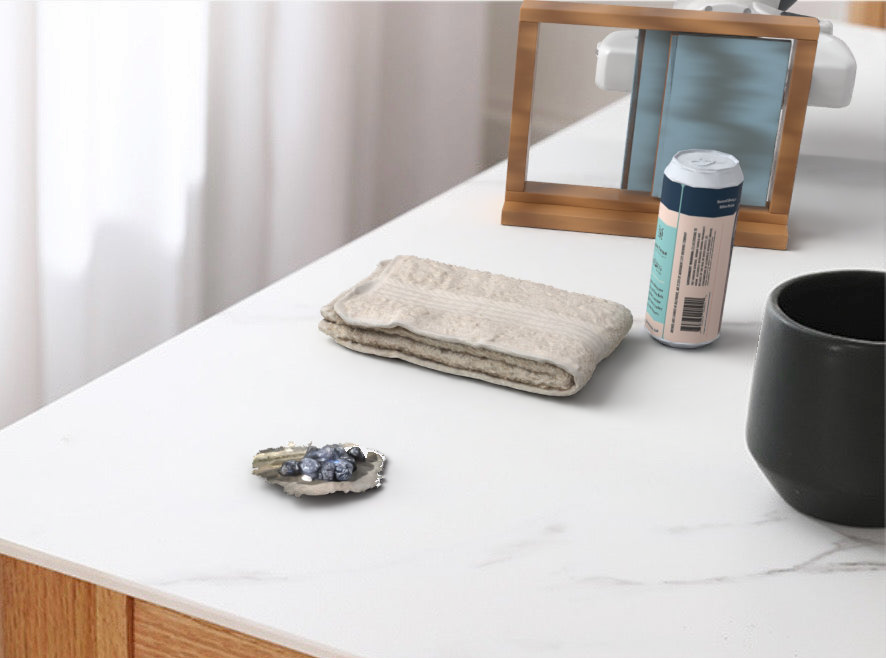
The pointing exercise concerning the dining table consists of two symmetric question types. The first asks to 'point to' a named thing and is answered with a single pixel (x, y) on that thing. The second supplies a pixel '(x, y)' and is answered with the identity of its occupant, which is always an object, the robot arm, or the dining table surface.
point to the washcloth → (477, 324)
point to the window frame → (681, 117)
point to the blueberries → (318, 468)
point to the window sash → (646, 108)
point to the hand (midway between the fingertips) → (724, 95)
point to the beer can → (693, 247)
